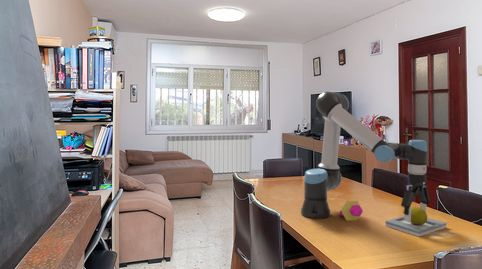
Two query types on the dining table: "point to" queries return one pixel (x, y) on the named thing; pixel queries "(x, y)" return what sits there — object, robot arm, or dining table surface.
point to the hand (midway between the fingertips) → (415, 219)
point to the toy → (351, 210)
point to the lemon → (418, 216)
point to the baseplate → (415, 226)
